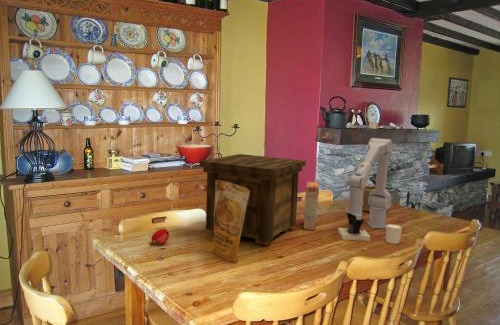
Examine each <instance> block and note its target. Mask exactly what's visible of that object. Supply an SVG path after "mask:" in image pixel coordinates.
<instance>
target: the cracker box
mask: <svg viewBox="0 0 500 325" xmlns="http://www.w3.org/2000/svg"><path fill="white" fill-rule="evenodd" d="M319 189H320V182H319V181H307V183H306V188H305V199H304V200H305V201H304V213H303V215H304V217H303V227H302V228H303V230H307V231H316V226H317V218H318V208H319V194H320V190H319Z"/></svg>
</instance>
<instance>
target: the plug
mask: <svg viewBox="0 0 500 325" xmlns="http://www.w3.org/2000/svg"><path fill="white" fill-rule="evenodd" d="M348 228H349V231H348V233H349V234H354V233H353V225H352V224H349V223H348ZM358 234H360V231H359V233H358Z"/></svg>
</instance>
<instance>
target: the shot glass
mask: <svg viewBox="0 0 500 325" xmlns="http://www.w3.org/2000/svg"><path fill="white" fill-rule="evenodd" d="M385 225H386V228H385V241H386V242H387V243H389V244H396V245H397V244H400V240H401V235H402V231H403V230H402V229H403V226H401V225H399V224H393V223H392V224H391V223H389V224H388V223H387V224H385Z"/></svg>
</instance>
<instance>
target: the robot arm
mask: <svg viewBox="0 0 500 325" xmlns="http://www.w3.org/2000/svg"><path fill="white" fill-rule="evenodd" d="M367 148H368V151H367V153H366V156H365V157H364V160H363V161H362V162H360V163H359V165H358V166H357V169H356V170H355V172H354V174H352V175H350V176H349V178H348V187H349V188H348V189H349V202H348V209H347V210H345V212H346V216H347V219H348V220H347V221H348V225H349V224H352V225H353V233H354V234H358V233H359V231H360V228H362V226H363V223H364V222H365V219H364V218H362V216H363V210H362V206H363V192H364V188H365V187H366V186H368V185H367V184H368V180H369V179H368V177H369V175H370V173H371V171H372V170H373V166H372V165H373V163H374V162H375V160H376V158H377V166H376V174H375V175H376V176H375V177H376V178H375V185H374V186H375V189H374V190H372V191H371V192H370V195H369V198H368V204H369V206H370V208H371V209H370V212H369V216H368V221H366V223H367V224H368V226H370V228H372V229H386V225H387V224H386V221H387V220H386V218H387V213H386V211H387V210H388V209H389V210H390V208H391V206H392V198H391V197H392V193H391V192H389V191H388V190H387V189H386V188H387V179H388V169H389V159H390V157H392V156H393V155H392V154H393V150H394V143H393V141H392V139H390V138H377V137H371V138H370V139H369V140H368V144H367ZM375 194H376V195H375Z"/></svg>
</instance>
